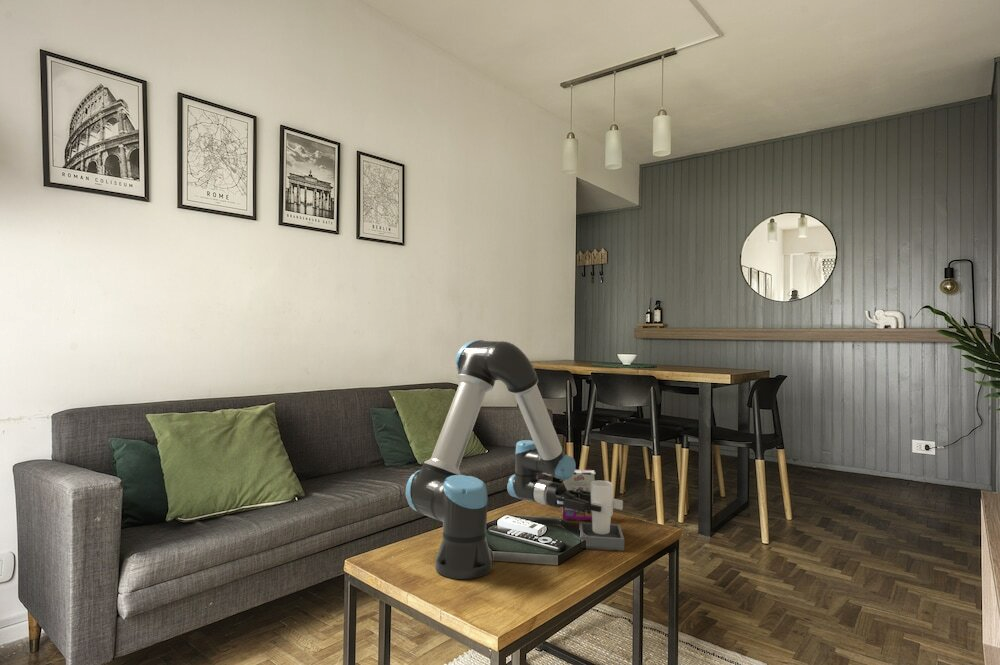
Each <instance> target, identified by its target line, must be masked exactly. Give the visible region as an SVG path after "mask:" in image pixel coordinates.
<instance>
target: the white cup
mask: <svg viewBox="0 0 1000 665" xmlns="http://www.w3.org/2000/svg"><path fill="white" fill-rule="evenodd" d="M613 499H614V484H613V482H611V481H607V480H596V481H592V482H591V504H592V502H596V503H602V504H606V505H611V506H612V503H613ZM611 519H612V516H611V515H606V514H602V513H597V512H593V511H592V521H591V523H592V531H593V532H594V533H596V534H599V535H606V534H609V532H610V524H611Z"/></svg>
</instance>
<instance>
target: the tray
mask: <svg viewBox="0 0 1000 665" xmlns="http://www.w3.org/2000/svg"><path fill="white" fill-rule="evenodd" d="M578 525H579V528H578V531H579V530H580V536H579V538H580V537H581V540H585V541H586V549H585V550H597V551H598V550H599V551H600V550H601V551H612V550H618V551H617V552H625V537H624V534H623V530H622V528H621V524H615V523H614V524H613V523H610V532H609V534H606V535H599V534H596V533H594V532H593V531H592V522H582V521H581V522H580V521H579V524H578ZM583 532H584V533H585V534H586V535H588V536H583Z"/></svg>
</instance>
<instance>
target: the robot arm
mask: <svg viewBox="0 0 1000 665" xmlns="http://www.w3.org/2000/svg"><path fill="white" fill-rule="evenodd" d="M455 364H456V366H455V367H456V370H457V375H456V377H457V380H458V386H457V388H456V389H457V390H456V391H455V393H454V396H453V399H452V402H451V405H450V407H449V409H448V413H447V415H446V417H445V421H444V423H443V426H442V428H441V430H440V433H439V436H438V438H437V441H436V444H435V447H434V450H433V451H432V454H431V457H430V458H429V459H427V460H425V461H424V462H423V463H422V466H421V469H419V470H417V471H415V472H414V473H413V474H411V475H410V477H409V478H408V479H407V482H406V486H405V499H406V500H407V503H408V505H409V507H410V508H411V509H412V510H413V511H416V512H417V513H419V514H420V515H422V516H427V517H429V518H432V519H433V520H436V521H439V522H442V539H441V542H440V545H439V548H438V551H437V554H436V557H435V564H434V565H435V566H434V568H435V571H436V573H438V574H439V575H442V576H443V577H446V578H449V579H455V580H456V579H457V580H471V579H478V578H482V577H484V576H486V575H488V574H490V572H491V571H492V569H493V558H492V554H491V551H490V550H491V549H490V548H489V545H488V541H487V520H488V519H487V518H488V517H487V515H488V499H489V498H488V492H487V490H488V489H487V486H486V484H485V482H484V481H483V480H482V479H479V478H477V477H476V476H472V475H466V474H461V471H460V465H461V463H462V460H463V457H464V454H465V452H466V449H467V446H468V443H469V441H470V437H471V435H472V432H473V430H474V426H475V424H476V421H477V418H478V416H479V412H480V410H481V408H482V404H483V402H484V399H485V396H486V394H487V393H488V392H489V391H492V390H493V388H494V386H495V383H496V381H501V382H502V383H503V384H504V385H505V386H506V388H507V391H508V393H510V394H512V395H513V396H514V399H515V401H516V403H517V406H518V408H519V410H520V413H521V415H522V418H523V420H524V422H525V425H526V427H527V430H528V432H529V434H530V437H531V439H532V440H530V439H527V440H525V439H524V440H519V441H517V442H516V443H515V453H514V455H515V456H514V457H515V458H514V459H515V463H514V464H515V465H514V466H515V468H514V469H515V470H514V471H515V473H514V474H512V475H511V476H510V477H509V479H508V483H507V484H506V485H507V487H506V489H507V493H508V494H509V495H510V496H511V497H513V498H516V499H519V500H523V501H524V500H525V501H528V502H533V503H537V504H541V505H542V506H545V505H547V506H550V507H554V508H563V507H565V508H569V509H573V510H577V511H581V512H586V511H587V514H591V510H592V511H593V512H597V513H602V514H606V515H611V517H612V516H613V514H614V509H617V510H620V511H622V510H623V507H624V505H623V504H624V501H623V500H622V499H618V498H613V503H612V506H611V505H606V504H602V503H596V502H592V504H591V492H589V491H583V490H580V489H576V491H574V490H569V491H567V489H566V487H565V485H564V484H563V483H560V482H556V481H551V480H546V479H542V478H538V474H540V475H544V476H548V477H551V478H555V479H557V480H558V479H559V480H563V479H565V480H567V479H569V478H571V477H572V475H573V474H574V472H575V470H576V464H577V463H576V461H575V458H573V456H571V455H569V454H565V453H564V450H563V447H562V444H561V442H560V440H559V438H558V435H557V432H556V430H555V427H554V425H553V422H552V420H551V417H550V414H549V412H548V409H547V407H546V404H545V402H544V399H543V397H542V393H541V391H540V390H539V387H538V383H539V378H538V375H537V372H536V370H535V368H534V366H533V364H532V362H531V361H530V359H529V358H528V356H527V355H526V354H525V353H524V352H523V351H522V350H521V349H520V348H519V347H518V346H517V345H516V344H513V343H511V342H508V341H503V340H500V341H497V340H496V341H493V340H492V341H491V340H483V339H479V340H478V339H477V340H471V341H468V342H466V343H464V344H463V345H462V346H461V347H460V348H459V350H458V352H457V354H456V356H455Z"/></svg>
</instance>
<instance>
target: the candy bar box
mask: <svg viewBox="0 0 1000 665" xmlns="http://www.w3.org/2000/svg"><path fill="white" fill-rule="evenodd" d="M592 481H597V473H596V470H595V469H593V470H592V469H575V472H574V474H573V475H572V477H571V478H569V479H567V480H565V479H562V484H564V485H565V487H566V489H567V491H569V490H574V491H576V489H580V490H583V491H589V492H591V482H592ZM563 519H564V521H579V522H580V521H581V522H582V521H583V522H584V521H585V522H592V510H591V514H587V511H586V512H581V511H577V510H573V509H569V508H565V507H562V520H563Z"/></svg>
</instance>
